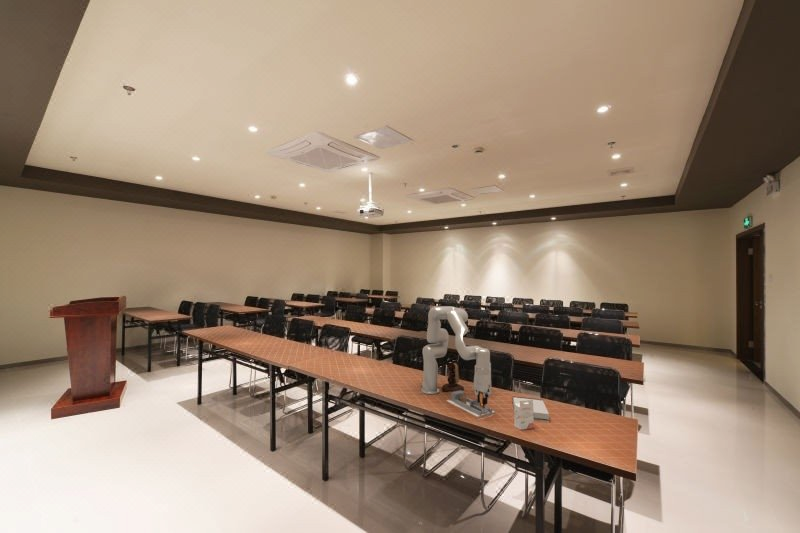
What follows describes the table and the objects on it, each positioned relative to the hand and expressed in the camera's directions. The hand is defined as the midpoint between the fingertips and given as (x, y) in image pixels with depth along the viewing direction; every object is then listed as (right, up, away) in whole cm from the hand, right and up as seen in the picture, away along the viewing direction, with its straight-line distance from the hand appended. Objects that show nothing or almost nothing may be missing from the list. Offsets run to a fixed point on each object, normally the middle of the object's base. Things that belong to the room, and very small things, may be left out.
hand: (482, 402), depth 192 cm
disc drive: (+29, -8, +6) cm, 31 cm away
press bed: (-6, -7, +9) cm, 12 cm away
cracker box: (+8, -8, +33) cm, 35 cm away
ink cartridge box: (+18, -7, -15) cm, 24 cm away
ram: (-1, -5, +2) cm, 5 cm away
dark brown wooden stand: (-10, -8, +40) cm, 42 cm away
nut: (-8, -6, +14) cm, 17 cm away
